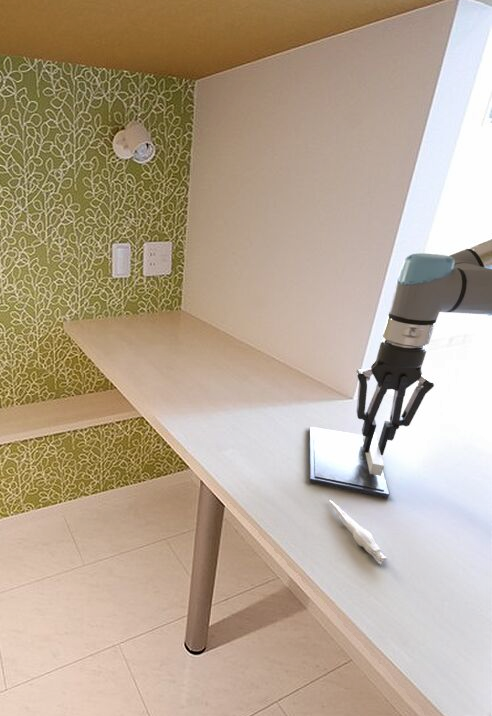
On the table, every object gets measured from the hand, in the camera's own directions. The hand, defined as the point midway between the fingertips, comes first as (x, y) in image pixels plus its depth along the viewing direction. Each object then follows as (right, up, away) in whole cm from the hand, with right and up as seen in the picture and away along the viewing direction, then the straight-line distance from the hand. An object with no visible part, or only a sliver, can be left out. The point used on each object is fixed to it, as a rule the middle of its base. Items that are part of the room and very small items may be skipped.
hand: (372, 450), depth 90 cm
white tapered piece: (-12, -12, -17) cm, 24 cm away
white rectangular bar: (0, -1, +1) cm, 1 cm away
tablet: (-5, -3, +3) cm, 6 cm away
